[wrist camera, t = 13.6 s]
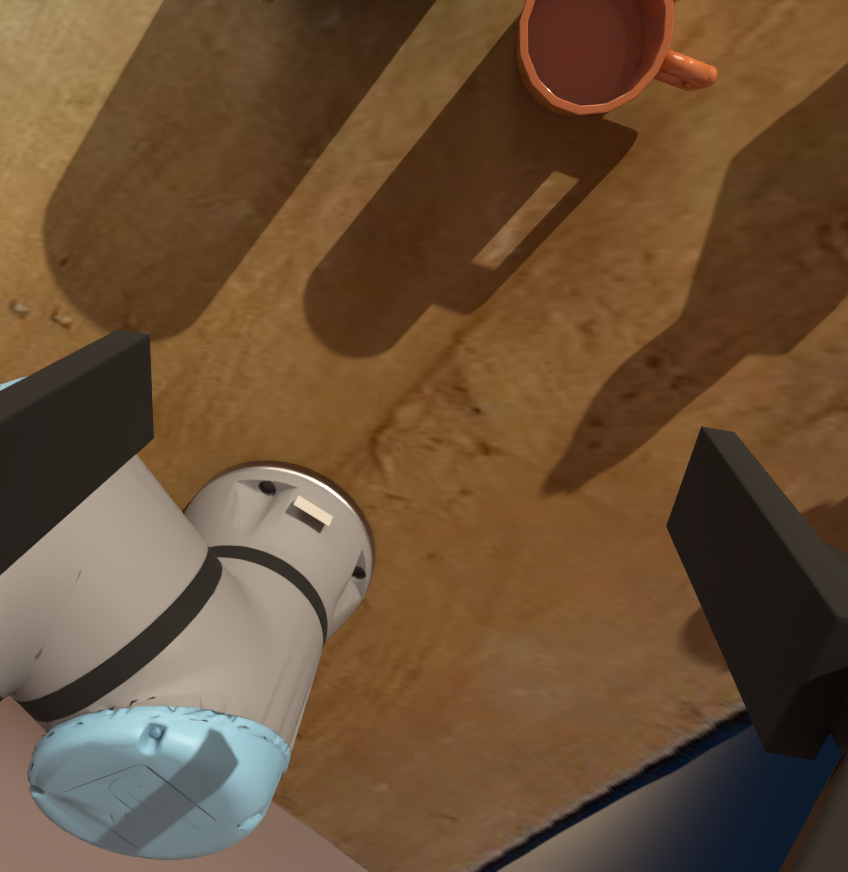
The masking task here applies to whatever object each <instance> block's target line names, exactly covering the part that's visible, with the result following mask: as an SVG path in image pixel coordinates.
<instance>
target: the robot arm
mask: <svg viewBox="0 0 848 872" xmlns="http://www.w3.org/2000/svg"><path fill="white" fill-rule="evenodd" d="M152 439H154V434H153V408H152V382H151V356H150V335H149V334H143V333H137V332H131V331H125V330H119V329H118V330H116V331H114V332H112V333H110V334H108V335H107V336H105V337H103V338H101V339H99V340H97V341H95V342H93V343H91V344H89V345H87V346H85V347H83V348H81V349H80V350H78V351H76V352H74V353H72V354H70V355H68V356H66V357H64V358H62V359H60V360H58V361H56V362H55V363H53V364H51V365H49V366H47V367H45V368H43V369H41V370H39V371H37V372H35V373H33V374H31V375H29V376H27V377H23V378H19V379H16V380H13V381H10V382H7V383H4V384H1V385H0V701H1V700H3V699H4V698H5V697H7V696H9V695H10V696H11V697H12V698H13V699H14V700H15V701H16V702H18V703H19V704H20V705H21V706H22V707H23V708H24V709H25V710H26V711H27V712H28V713H29V714H30V715H31V716H32V717H33V719H34V720H35V721H36V722H37V723H38V724H39V725H41V727H42V728H43V729H44V730H45V731H46V735H43V736H42V737H41V738H40V739H39V741H38V742H37V744H36V746H35V747H34V751H33V753H32V759H31V762H30V764H29V767H28V781H29V783H30V784H31V785H30V792H31V796H32V798H33V800H34V801H35V803H36V804H37V806H38V807H39V809H40V810H41V811H42V812H43V813H44V814H45V815H46V816H47V817H48V818H49V819H50V820H51V821H52V822H53V823H55V824H56V825H57V826H59V827H60V828H61V829H63V830H64V831H66V832H68V833H70V834H71V835H73V836H75V837H76V838H78V839H80V840H82V841H85V842H87V843H89V844H91V845H94V846H97V847H99V848H102V849H105V850H108V851H111V852H115V853H119V854H123V855H128V856H133V857H142V858H147V859H158V860H180V859H191V858H197V857H202V856H206V855H210V854H213V853H217V852H219V851H222V850H224V849H227V848H229V847H231V846H233V845H235V844H236V843H238V842H239V841H241V840H242V839H244V838H245V837H246V836H247V835H249V834H250V833H251V832H252V831H253V830H254V829H255V828H256V827H257V825H258V824H259V823H260V822H261V820H262V819H263V817H264V815H265V813H266V812H267V810H268V807H269V805H270V803H271V800H272V798H273V795H274V793H275V790H276V788H277V785H278V783H279V780H280V778H281V777H282V775H283V774H284V773H285V772H286V770H287V768H288V764H289V761H290V755H291V752H292V749H293V745H294V742H295V739H296V736H297V732H298V729H299V726H300V723H301V719H302V716H303V713H304V710H305V706H306V703H307V700H308V697H309V693H310V690H311V687H312V684H313V680H314V677H315V674H316V671H317V667H318V664H319V661H320V657H321V654H322V651H323V648H324V645H325V643H326V642H327V641H328V640H329V638H330V637H331V636H332V635H333V634H334V633H335V632H336V631H337V630H338V629H339V628H340V626H341V625H342V624H343V623H344V622H345V621H346V620H347V619H348V618H349V617H350V616H351V615H352V613H353V612H354V611H355V610H356V609H357V607H358V606H359V604H360V602H361V601H362V599H363V597H364V595H365V593H366V591H367V589H368V586H369V583H370V580H371V577H372V573H373V569H374V564H375V545H374V539H373V535H372V532H371V529H370V526H369V524H368V522H367V520H366V518H365V516H364V514H363V513H362V511H361V510H360V508H359V507H358V506H357V504H356V503H355V502H354V500H353V499H352V498H351V497H350V496H349V495H348V494H347V493H346V492H345V491H344V490H342V489H341V488H340V487H339V486H338V485H336V484H335V483H334V482H332V481H331V480H329V479H327V478H326V477H324V476H322V475H320V474H318V473H316V472H314V471H312V470H310V469H307V468H304V467H301V466H298V465H295V464H290V463H285V462H278V461H255V462H248V463H243V464H239V465H236V466H233V467H230V468H228V469H226V470H224V471H222V472H220V473H219V474H217V475H216V476H214V477H213V478H212V479H210V480H209V481H208V482H207V483H206V484H205V485H204V486H203V487H202V488H201V489H200V491H199V492H198V493H197V494H196V496H195V497H194V498H193V499H192V501H191V502H190V504H189V506H188V507H187V509H186V511H185V513H184V514H183V513H182V511H181V510H180V509H179V508H178V506H177V505H176V504H175V503H174V501H173V500H172V499H171V498H170V496H169V495H168V494H167V492H166V491H165V490H164V489H163V487H162V486H161V485H160V484H159V482H158V481H157V480H156V478H155V477H154V476H153V475H152V473H151V472H150V471H149V470H148V468H147V467H146V466H145V464H144V463H143V462H142V461H141V459H140V458H139V457H138V456H137V453H138V452H139V451H140V450H141V449H142V448H144V447H145V446H146V445H147V444H148V443H149V442H150V441H151V440H152ZM666 527H667V529H668V531H669V534H670V536H671V538H672V540H673V543H674V545H675V547H676V549H677V552H678V554H679V556H680V559H681V561H682V563H683V565H684V568H685V570H686V572H687V574H688V577H689V579H690V581H691V584H692V586H693V588H694V590H695V593H696V595H697V597H698V599H699V602H700V604H701V606H702V609H703V611H704V613H705V615H706V618H707V620H708V622H709V624H710V627H711V629H712V631H713V634H714V636H715V638H716V640H717V643H718V645H719V647H720V649H721V652H722V654H723V656H724V659H725V661H726V663H727V665H728V668H729V670H730V672H731V674H732V677H733V679H734V681H735V684H736V686H737V688H738V690H739V693H740V695H741V697H742V699H743V702H744V704H745V706H746V709H747V711H748V713H749V715H750V718H751V720H752V722H753V724H754V727H755V729H756V731H757V734H758V736H759V738H760V740H761V743H762V745H763V747H764V749H765V751H766V752H771V753H776V754H782V755H787V756H793V757H799V758H804V759H809V760H814V759H815V758H816V756H817V754H818V752H819V751H820V749H821V747H822V745H823V743H824V742H825V740H826V738H827V736H828V734H829V733H831V735H832V737H833V738H834V740H835V742H836V743H837V745H838V747H839V749H840V751H841V753H842V754H843V755H842V757H841V758H840V760H839V762H838V763H837V765H836V767H835V768H834V770H833V772H832V773H831V775H830V777H829V778H828V780H827V782H826V783H825V785H824V787H823V789H822V790H821V792H820V794H819V795H818V797H817V799H816V801H815V802H814V807H813V809H812V811H811V813H810V815H809V817H808V819H807V821H806V822H805V824H804V826H803V828H802V830H801V832H800V834H799V835H798V837H797V840H796V841H795V843H794V845H793V847H792V848H791V850H790V852H789V854H788V856H787V858H786V860H785V862H784V863H783V866H782V867H781V869H780V871H779V872H848V555H846V554H845V553H844V552H842V551H841V550H839V549H838V548H837V547H835V546H829V545H825V544H824V542H823V541H822V540H821V539H820V538H819V536H818V535H817V534H816V533H815V531H814V530H813V529H812V528H811V526H810V525H809V524H808V523H807V521H806V520H805V519H804V518H803V516H802V515H801V514H800V513H799V512H798V510H797V509H796V508H795V507H794V505H793V504H792V503H791V502H790V500H789V499H788V498H787V497H786V495H785V494H784V493H783V492H782V490H781V489H780V488H779V487H778V486H777V484H776V483H775V482H774V481H773V479H772V478H771V477H770V476H769V474H768V473H767V472H766V471H765V469H764V468H763V467H762V466H761V464H760V463H759V462H758V461H757V460H756V458H755V457H754V456H753V455H752V453H751V452H750V451H749V450H748V448H747V447H746V446H745V445H744V443H743V442H742V441H741V440H740V438H739V437H738V436H737V435H736V433H735V432H730V431H724V430H718V429H712V428H706V427H701V429H700V432H699V435H698V438H697V441H696V443H695V446H694V449H693V452H692V455H691V458H690V460H689V463H688V466H687V469H686V472H685V475H684V477H683V480H682V483H681V486H680V489H679V492H678V494H677V497H676V500H675V503H674V506H673V509H672V512H671V514H670V517H669V520H668V523H667V526H666Z"/></svg>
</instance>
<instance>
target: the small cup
mask: <svg viewBox="0 0 848 872" xmlns="http://www.w3.org/2000/svg"><path fill="white" fill-rule="evenodd" d="M673 15H674V3H673V0H526V3H525V6H524V9H523V12H522V15H521V18H520V21H519V25H518V30H517V35H516V55H517V67H518V69H519V72H520V75H521V78H522V80H523V82H524V85H525V87H526V89H527V91H528V92H529V93H530V94H531V95H532V96H533V98H534V99H535V100H536V101H537V102H538V103H540V104H541V105H542V106H543V107H544V108H546V109H547V110H550V111H552V112H554V113H557V114H560V115H564V116H566V117H578V116H590V115H597V114H602V113H607V112H610V111H612V110H614V109H615V108H617V107H619V106H621V105H623V104H625V103H627V102H629V101H631V100H633V99H634V98H635V97H637V96H638V95H639V94H640V92H641V91H642V90H643V89H644V88H645V87H646V86H647V85H648V83H649V82H650V81H651V80H652V79H656V80H658V81H661V82H664V83H666V84H669V85H672V86H674V87H677V88H680V89H683V90H685V91H692V90H697V89H701V88H706V87H709V86H711V85H712V84H713V83H714V82H715V81H716V79H717V70H716V68H715V67H714V66H712V65H710V64H707V63H704V62H702V61H699V60H696V59H694V58H691V57H688V56H686V55H683V54H680V53H678V52H675V51H672V50H670V49H668V48H669V46H670V43H671V40H672V30H673Z"/></svg>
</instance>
